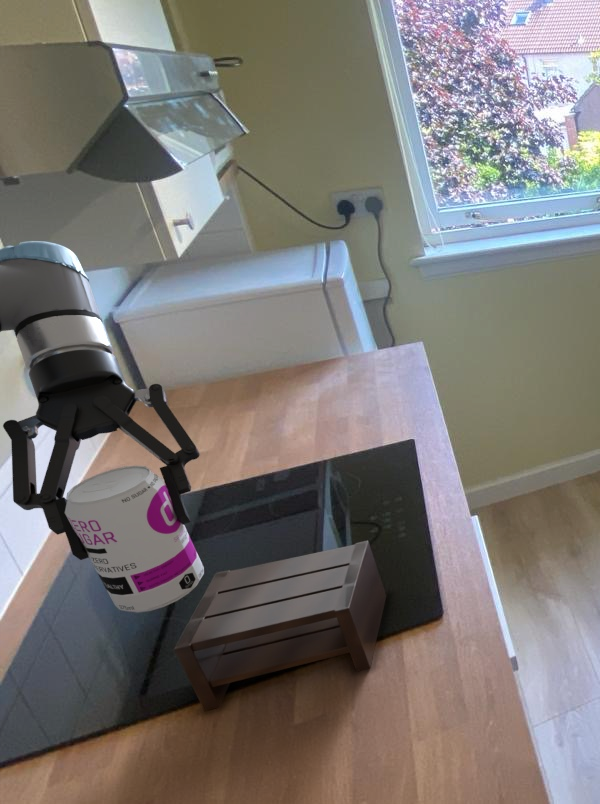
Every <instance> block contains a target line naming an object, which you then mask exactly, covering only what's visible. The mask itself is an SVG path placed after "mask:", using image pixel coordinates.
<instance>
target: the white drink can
mask: <svg viewBox="0 0 600 804" xmlns="http://www.w3.org/2000/svg"><path fill="white" fill-rule="evenodd" d="M65 498H66V499H67V504H66V509H65V514H66V516H67V518H68V520H69V522H70V524H71V525H72V527H73V529H74V531H75V532H76V534H77V536H78V538H79V539H80V541H81V543H82V545H83V547H84V549H85V551H86V552H87V554H88V557H89V558H88V559H89V560H90V563H91V564H92V566H93V568H94V569H95V571H96V573H97V575H98V577H99V579H100V581H101V583H102V584H103V586H104V588H105V590H106V592H107V593H108V595H109V598H110V599H111V601H112V603H113V605H114V606H115V607H116V608H117V609H118V610H119V611H124V612H129V613H130V612H131V613H145V612H146V613H147V612H152V611H155V610H158V609H161V608H165V607H167V606H169V605H171V604H173V603H175V602H177V601H179V600H180V599H182V598H184V597H186V596H187V595H189V594H190V593H191V592H192V591H193V590H194V589H195V588H196V587H197V586H198V584H199V583H200V581H201V579H202V578H203V576H204V575H205V567H204V564H203V562H202V561H201V558H200V556H199V554H198V552H197V550H196V547H195V545H194V543H193V540H192V539H191V536H190V535H189V533H188V530H187V528H186V525H185V524H182V523H181V521H180V520H179V519H178V517H177V514H176V511H175V509H174V506H173V503H172V500H171V498H170V495H169V492H168V489H167V487H166V484H165V482H164V479H163V477H162V476H160V475H159V474H157V473H155V472H153V471H152V470H151V469H150V467H147V466H146V465H136V464H135V465H127V466H122V467H121V466H120V467H117V468H113V469H109V470H105V471H103V472H100V473H97V474H94V475H92V476H90V477H88V478H86V479H83V480H82V481H80V482H79V483H77V484H76V485H74V486H73V487H72V488H70V489H69V490H68V491H67V493H66V497H65Z"/></svg>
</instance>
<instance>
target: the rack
mask: <svg viewBox="0 0 600 804" xmlns="http://www.w3.org/2000/svg"><path fill="white" fill-rule="evenodd" d="M386 600H387V593H386V590H385V588H384V584H383V581H382V578H381V575H380V573H379V569H378V567H377V564H376V560H375V557H374V555H373V551H372V548H371V545H370V542H369V540H364V541H359V542H355V544H351V545H346V546H340V547H337V548H332V549H326V550H323V551H318V552H314V553H313V552H312V553H309V554H305V555H299V556H296V557H295V556H294V557H290V558H285V559H280V560H276V561H271V562H270V561H269V562H266V563H261V564H256V565H253V566H248V567H244V568H237V569H233V570H230V569H228V570H224V571H219V572H215V574H214V575H213V577H212V578H211V581H210V582H209V584H208V586H207V588H206V590H205V592H204V594H203V596H202V597H201V599H200V601H199V603H198V605H197V606H196V608H195V610H194V612H193V614H192V615H191V617H190V619H189V621H188V622H187V624H186V626H185V628H184V630H183V632H182V633H181V635H180V637H179V639H178V641H177V642H176V644H175V647H174V648H173V652H174V653H175V656H176V658H177V659H178V661H179V664H180V665H181V667H182V669H183V671H184V673H185V675H186V678H187V679H188V682H189V683H190V685H191V687H192V690H193V691H194V693H195V695H196V697H197V699H198V702H199V703H200V705H201V707H202V708H203V711H204V712H207V711H210V710H214V709H217V708H220V707H221V705H222V702H223V700H224V698H225V696H226V693H227V691H228V689H229V687H230V685H231V683H235V682H239V681H243V680H246V679H250V678H254V677H258V676H262V675H267V674H270V673H271V674H272V673H275V672H279V671H282V670H286V669H290V668H294V667H298V666H303V665H306V664H310V663H315V662H318V661H321V660H327V659H330V658H335V657H338V656H342V655H346V654H350V658H351V660H352V663H353V665H354V668H355V670H356V672H360V671H364V670H368V669H371V666H372V662H373V658H374V653H375V649H376V643H377V639H378V636H379V631H380V626H381V623H382V617H383V613H384V609H385V604H386Z"/></svg>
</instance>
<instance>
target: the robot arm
mask: <svg viewBox="0 0 600 804" xmlns="http://www.w3.org/2000/svg"><path fill="white" fill-rule="evenodd" d="M7 331H13V332H14V335H15V338H16V342H17V344H18V347H19V351H20V353H21V356H22V359H23V362H24V365H25V367H26V369H27V370H28V376H29V379H30V383H31V385H32V388H33V391H34V394H35V397H36V400H37V404H38V406H37V409H36V411H35V414H34V415H32V416H30V417H26V418H24V419H21V420H15V419H9V420H6V421H5V422H4V423H2V428H3V429H4V431H5V433H6V434H7V435H8V438H9V439H10V440H11V441H10V442H11V443H10V444H11V471H12V472H11V473H12V474H11V475H12V501H13V502H14V504H16V505H17V506H19V508H21V509H22V510H25V511H31V510H34V509H42V511H43V513H44V516H45V520H46V523H47V526H48V528H49V530H50V531H52V532H53V533H54V534H56V536H57V535H61V534H65V535H66V539H67V541H68V544H69V547H70V551H71V553H72V555H73V556H74V557H76V558H77V559H78V560H80V561H83V560H86V559H89V557H88V554H87V552H86V551H85V549H84V547H83V545H82V543H81V541H80V539H79V538H78V536H77V534H76V532H75V531H74V529H73V527H72V525H71V524H70V522H69V520H68V518H67V516H66V514H65V509H66V504H67V499H66V497H64V495H65V491H66V488H67V484H68V482H69V478H70V474H71V470H72V466H73V464H74V459H75V456H76V453H77V451H78V450H79V449H80V446H81V442H82V441H85V440H88V439H91V438H93V437H95V436H98V435H101V434H109V433H114V432H118V429H119V430H120V431H121V432H123V433H124V434H126V436H128V437H130V438H131V439H132V440H134V442H136V443H138V444H139V445H140V446H141V447H143V449H145V450H146V451H147V452H149V453H150V454H151V455H153V456H154V457H155V458H156V459H158V460H159V461H160V462H162V463H163V464H164V466H161V467H159V471H160V473H161V477H162V478H163V481H164V483H165V485H166V487H167V489H168V492H169V495H170V498H171V500H172V503H173V506H174V509H175V511H176V514H177V517H178V519H179V520H180V521H181V523H182V524H184V525H186V524H189V523H192V520H191V518H190V515H189V512H188V510H187V507H186V504H185V502H184V499H183V497H182V495H183V494H186V493H189V492H191V490H192V485H191V483H190V480H189V477H188V474H187V472H186V469H185V467H186V465H187V464H188V463H189V462H191V461H194V460H197V459H198V458H200V454H201V453H200V451H199V449H198V448H197V446H196V444H195V443H194V441H193V440H192V439H191V437H190V436H189V434H188V432H187V431H186V430H185V429H184V427H183V425H182V424H181V422H180V421H179V420H178V418H177V417H176V416H175V414H174V413H173V412H172V409H171V408H170V407H169V406H168V396H167V394H166V391H165V390H164V387H163V386H162V385H161V384H159V383H153V384H151V385H149V387H148V388H143V389H135V390H134V389H133V388H131V387H130V386H129V385H127V383H126V380H125V377H124V375H123V372H122V369H121V367H120V364H119V361H118V358H117V357H116V356H115V355H114V354H115V350H114V347H113V345H112V342H111V339H110V336H109V334H108V331H107V328H106V325H105V323H104V321H103V318H102V316H101V313H100V310H99V307H98V304H97V301H96V298H95V296H94V293H93V290H92V287H91V284H90V278H89V277H88V275H86V272H85V271H84V269H83V266H82V264H81V262H80V261H79V258H78V256H77V255H76V253H74V252H73V251H72V250H71V249H69V248H68V247H66V246H64V245H62V244H58V243H54V242H50V241H41V240H40V241H39V240H29V241H20V242H19V244H17V245H6V246H4V247H2V248H0V333H1V332H7ZM137 401H138V402H142V403H143V405H144V406H145V407H147V408H153V410H154V411H155V413H156V414H157V417H159V419H160V420H161V422H162V423H163V425H164V426H165V427H166V430H167V431H168V432H169V433H170V434H171V435H170V436H172V438H173V439H174V441H175V442H176V443H177V445H178V446H179V448H180V450H177V452H175V451H173V450H172V449H171V448H169V447H168V446H167V445H165V444H164V443H163V442H161V441H160V440H159V439H158V438H156V437H155V436H154V435H153V434H151V433H150V432H149V431H148V430H146V429H145V428H143V427H142V426H141V425H140V424H138V422H136V421H135V420H134V419H133V418H132V417H131V416H130V413H131V412H132V410H133V408H134V406H135V404H136V403H137ZM42 426H45V427H47V428H48V429H50V430H53V431H55V434H54V440H53V441H54V443H53V444H54V445H53V448H52V451H51V453H50V457H49V461H48V464H47V468H46V471H45V474H44V478H43V481H42V484H41V487H40V491H39V493H38V488H37V487H38V486H37V464H36V462H37V461H36V447H35V442H34V440H33V439H36V438H37V436H38V435H39V429H40V427H42Z"/></svg>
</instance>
